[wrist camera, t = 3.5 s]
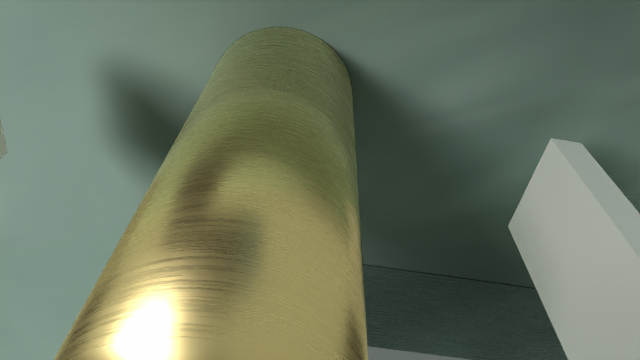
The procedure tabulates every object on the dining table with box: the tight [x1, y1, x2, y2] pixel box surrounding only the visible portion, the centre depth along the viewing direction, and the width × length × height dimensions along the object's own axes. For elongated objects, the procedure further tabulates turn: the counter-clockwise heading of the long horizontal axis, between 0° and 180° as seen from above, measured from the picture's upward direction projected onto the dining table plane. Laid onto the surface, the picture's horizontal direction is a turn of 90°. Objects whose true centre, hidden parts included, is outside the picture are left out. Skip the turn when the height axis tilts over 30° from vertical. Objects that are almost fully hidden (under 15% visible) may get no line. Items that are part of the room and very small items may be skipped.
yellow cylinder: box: [54, 27, 368, 360], centre depth 10 cm, size 4×4×10 cm
